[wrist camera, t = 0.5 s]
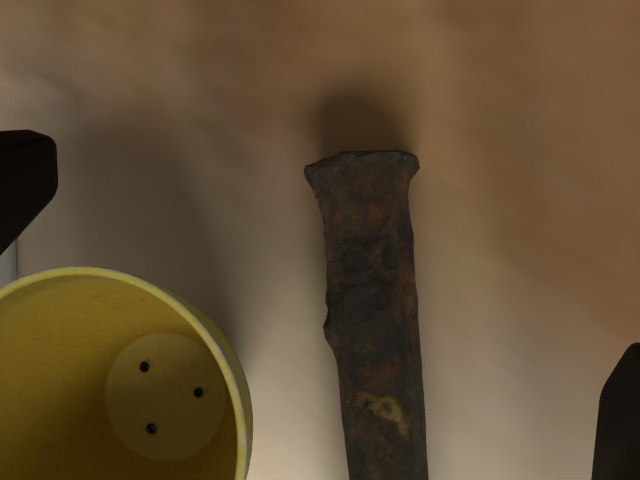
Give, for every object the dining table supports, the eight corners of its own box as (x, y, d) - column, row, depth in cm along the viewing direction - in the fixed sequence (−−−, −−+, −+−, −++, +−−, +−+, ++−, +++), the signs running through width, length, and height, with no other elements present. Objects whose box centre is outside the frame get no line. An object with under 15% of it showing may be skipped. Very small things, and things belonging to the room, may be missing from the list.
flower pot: (335, 328, 24) (301, 351, 17) (235, 568, 24) (160, 692, 17) (111, 230, 25) (-6, 213, 18) (18, 455, 25) (-133, 525, 18)
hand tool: (316, 168, 24) (292, 144, 20) (418, 161, 24) (418, 135, 19) (335, 661, 23) (315, 757, 19) (442, 668, 23) (448, 768, 18)
